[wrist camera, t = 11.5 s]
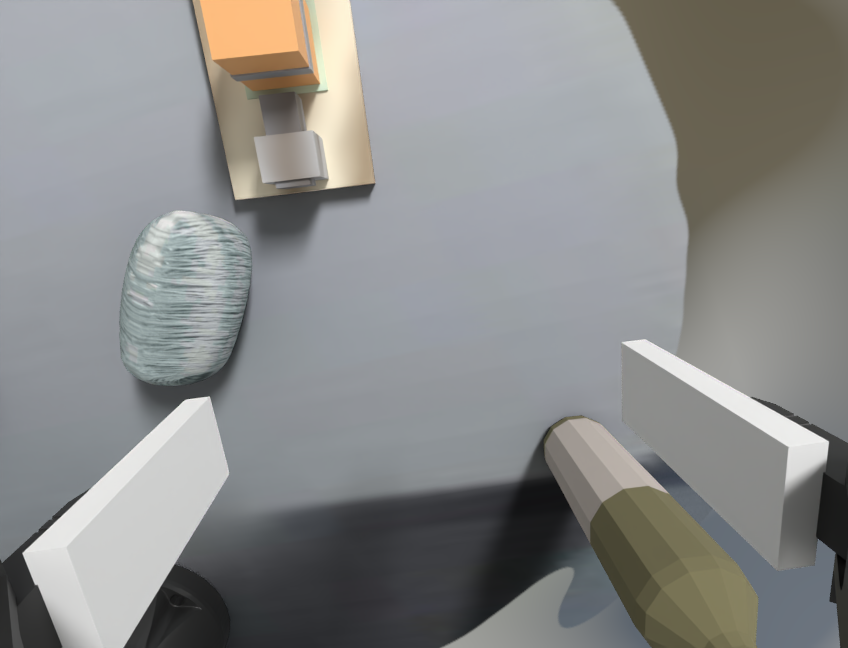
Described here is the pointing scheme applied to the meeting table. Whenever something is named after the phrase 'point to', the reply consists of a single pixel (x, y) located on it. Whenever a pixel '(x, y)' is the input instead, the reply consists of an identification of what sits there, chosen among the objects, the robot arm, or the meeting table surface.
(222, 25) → the block
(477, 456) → the meeting table surface
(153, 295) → the grey green yarn ball
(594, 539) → the bottle
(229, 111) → the coupling bench
